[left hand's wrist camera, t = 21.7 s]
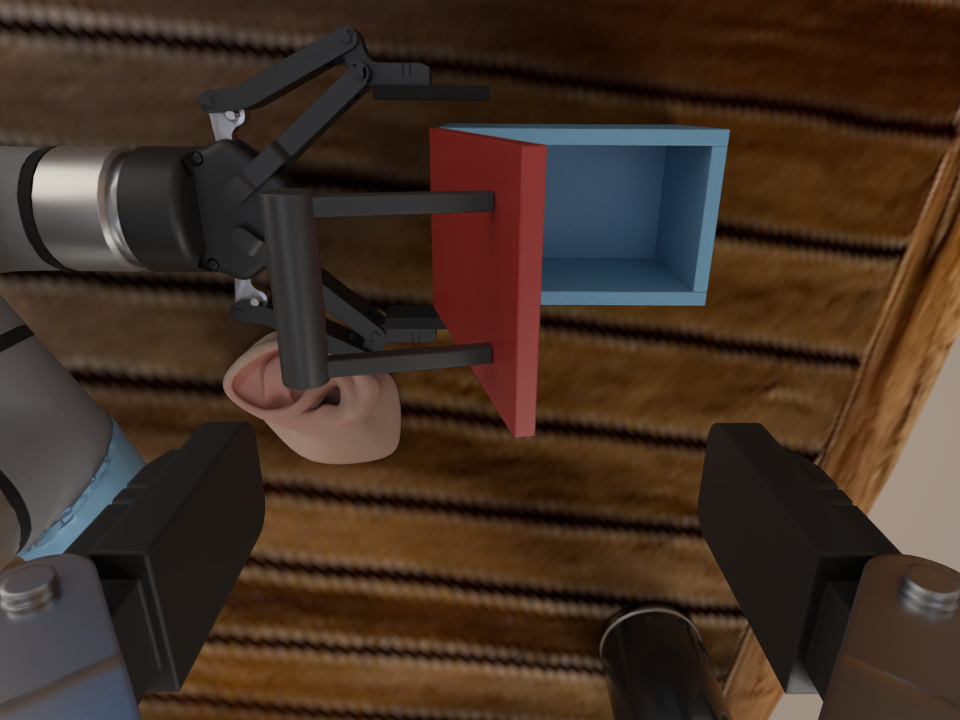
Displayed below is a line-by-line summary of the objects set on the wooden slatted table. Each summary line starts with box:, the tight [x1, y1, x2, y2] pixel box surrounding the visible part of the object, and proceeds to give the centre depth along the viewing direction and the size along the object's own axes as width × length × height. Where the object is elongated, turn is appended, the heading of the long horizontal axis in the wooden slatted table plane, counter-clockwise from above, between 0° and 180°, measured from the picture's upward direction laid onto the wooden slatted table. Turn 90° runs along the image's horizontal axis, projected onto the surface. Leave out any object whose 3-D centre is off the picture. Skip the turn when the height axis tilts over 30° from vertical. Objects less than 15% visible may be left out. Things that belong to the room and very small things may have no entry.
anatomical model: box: [223, 331, 401, 464], centre depth 49 cm, size 13×4×12 cm
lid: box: [260, 128, 547, 438], centre depth 27 cm, size 16×10×9 cm
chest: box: [439, 123, 730, 305], centre depth 41 cm, size 16×10×10 cm, turn 90°
